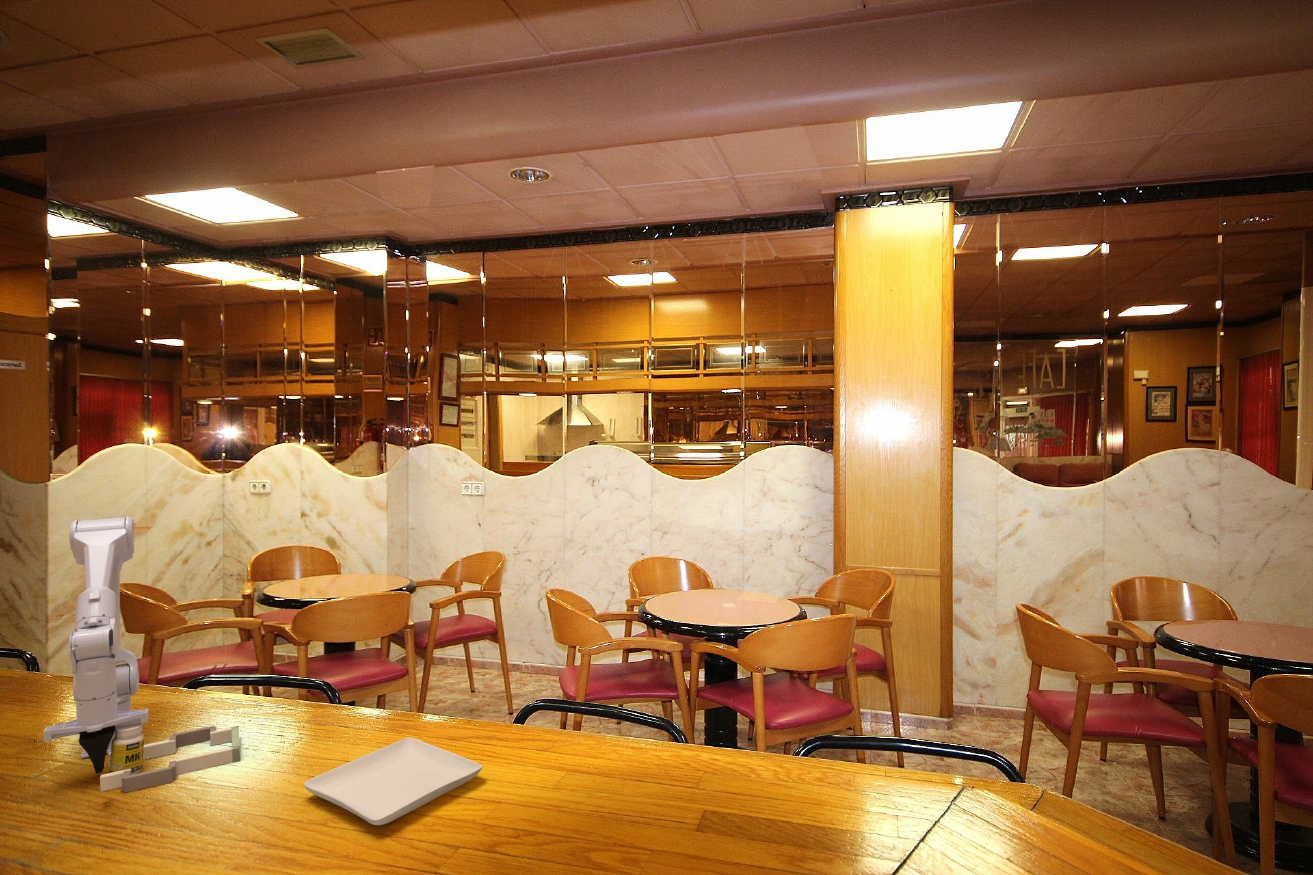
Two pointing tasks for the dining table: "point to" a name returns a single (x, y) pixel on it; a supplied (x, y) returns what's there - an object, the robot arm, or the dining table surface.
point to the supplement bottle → (127, 749)
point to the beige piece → (176, 765)
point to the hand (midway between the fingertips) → (99, 770)
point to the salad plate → (393, 780)
